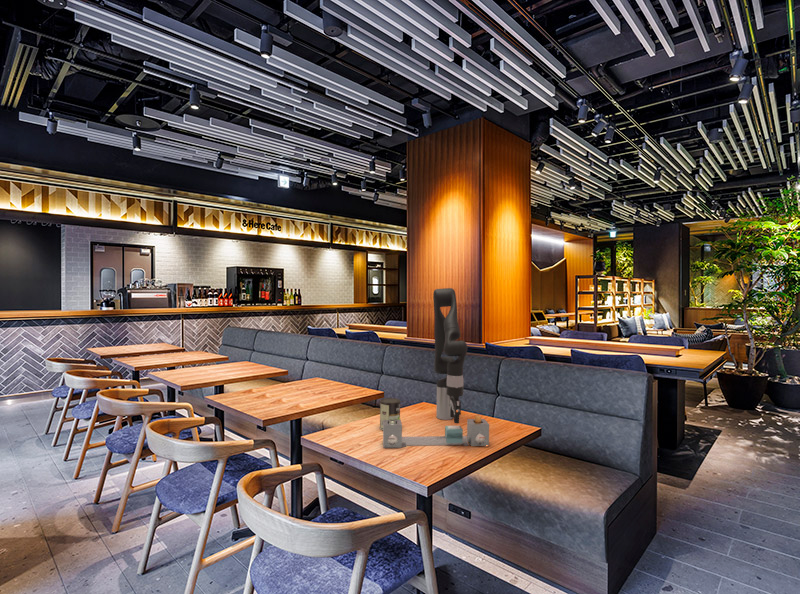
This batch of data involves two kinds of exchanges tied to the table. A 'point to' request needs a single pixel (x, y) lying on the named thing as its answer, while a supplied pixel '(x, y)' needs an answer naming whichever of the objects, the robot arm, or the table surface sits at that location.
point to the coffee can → (389, 410)
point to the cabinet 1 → (392, 434)
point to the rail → (430, 441)
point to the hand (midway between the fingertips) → (454, 420)
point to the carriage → (454, 434)
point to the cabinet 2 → (478, 432)
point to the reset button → (477, 419)
